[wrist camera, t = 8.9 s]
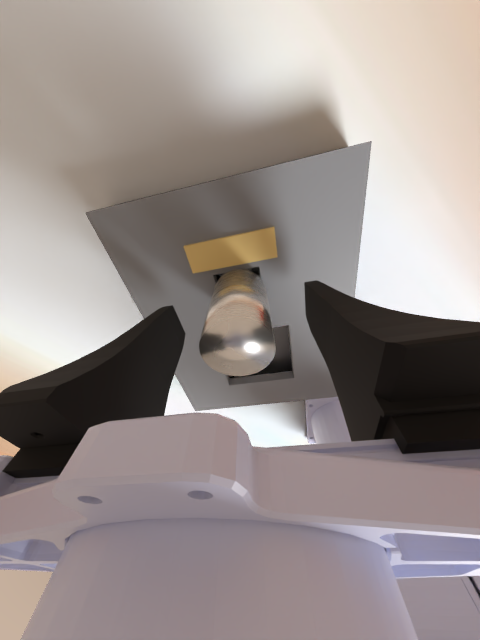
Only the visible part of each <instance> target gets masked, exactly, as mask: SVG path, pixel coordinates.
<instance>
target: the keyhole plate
mask: <svg viewBox="0 0 480 640" xmlns="http://www.w3.org/2000/svg"><path fill="white" fill-rule="evenodd" d="M371 142H372V141H370V142H366V143H362V144H358V145H354V146H350V147H346V148H342V149H338V150H334V151H330V152H326V153H322V154H318V155H314V156H310V157H306V158H302V159H298V160H294V161H290V162H286V163H282V164H278V165H274V166H270V167H266V168H262V169H258V170H254V171H250V172H246V173H242V174H238V175H234V176H230V177H226V178H222V179H218V180H214V181H210V182H206V183H202V184H198V185H194V186H190V187H186V188H182V189H178V190H174V191H170V192H166V193H162V194H158V195H154V196H150V197H146V198H142V199H138V200H134V201H130V202H126V203H122V204H118V205H114V206H110V207H106V208H102V209H98V210H94V211H90V212H86V215H87V217H88V219H89V221H90V222H91V224H92V226H93V228H94V229H95V231H96V233H97V235H98V237H99V238H100V240H101V242H102V244H103V246H104V247H105V249H106V251H107V253H108V255H109V256H110V258H111V260H112V262H113V264H114V265H115V267H116V269H117V271H118V273H119V274H120V276H121V278H122V280H123V282H124V283H125V285H126V287H127V289H128V291H129V292H130V294H131V296H132V298H133V300H134V301H135V303H136V305H137V307H138V309H139V310H140V312H141V314H142V316H143V318H144V319H145V318H146V317H148V316H149V315H151V314H152V313H153V312H155V311H156V310H158V309H160V308H162V307H165V306H171V305H173V307H174V309H175V311H176V313H177V316H178V318H179V320H180V322H181V325H182V327H183V329H184V331H185V340H184V346H183V350H182V353H181V356H180V359H179V362H178V365H177V368H176V371H175V375H176V377H177V379H178V381H179V382H180V384H181V386H182V388H183V390H184V391H185V393H186V395H187V397H188V399H189V400H190V402H191V404H192V406H193V408H194V409H195V411H200V410H210V409H220V408H230V407H240V406H250V405H260V404H270V403H280V402H290V401H300V400H310V399H320V398H330V397H338V396H337V393H336V390H335V387H334V384H333V381H332V378H331V375H330V372H329V369H328V367H327V365H326V362H325V360H324V358H323V356H322V354H321V352H320V350H319V348H318V346H317V344H316V341H315V339H314V337H313V335H312V333H311V331H310V328H309V325H308V322H307V318H306V312H305V286H304V282H309V281H315V280H317V281H320V282H322V283H324V284H326V285H328V286H330V287H332V288H334V289H336V290H338V291H340V292H342V293H344V294H346V295H349V296H351V297H353V298H354V297H355V288H356V279H357V270H358V261H359V252H360V242H361V233H362V224H363V215H364V206H365V197H366V187H367V178H368V169H369V160H370V151H371ZM253 267H259V269H260V275H261V279H262V280H263V282H264V284H265V287H266V291H267V297H268V303H269V309H270V315H271V321H272V327H273V328H274V327H281V326H287V325H288V331H289V341H290V351H291V361H292V371H287V372H279V373H270V374H262V375H253V376H245V377H237V378H230V377H229V375H226V374H222V373H220V372H217V371H216V370H214V369H212V368H211V367H210V366H208V365H207V364H206V363H205V362H204V360H203V359H202V357H201V355H200V351H199V342H200V338H201V334H202V331H203V327H204V324H205V320H206V316H207V313H208V309H209V306H210V302H211V298H212V295H213V291H214V287H215V284H216V282H217V281H218V280H217V276H216V274H222V273H226V272H228V271H231V270H235V269H248V268H253Z"/></svg>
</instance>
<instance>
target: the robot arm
mask: <svg viewBox="0 0 480 640" xmlns="http://www.w3.org/2000/svg"><path fill="white" fill-rule="evenodd" d="M304 286H305V312H306V318H307V322H308V325H309V328H310V331H311V333H312V335H313V337H314V339H315V341H316V344H317V346H318V348H319V350H320V352H321V354H322V356H323V358H324V360H325V362H326V365H327V367H328V369H329V372H330V375H331V378H332V381H333V384H334V387H335V390H336V393H337V396H338V397H330V398H320V399H310V400H305V405H306V423H307V440H308V443H310V444H311V445H297V446H283V447H270V448H264V447H253V446H252V445H251V442H250V440H249V437H248V434H247V433H246V432H245V431H244V430H243V429H242V427H241V426H240V425H239V424H238V423H237V422H236V421H235V420H232V419H229V418H227V417H224V416H222V415H219V414H213V413H187V414H177V415H167V416H164V413H165V407H166V402H167V398H168V393H169V389H170V386H171V382H172V379H173V376H174V373H175V371H176V368H177V365H178V362H179V359H180V356H181V353H182V350H183V346H184V340H185V331H184V329H183V327H182V325H181V322H180V320H179V318H178V316H177V313H176V311H175V309H174V307H173V305H171V306H165V307H162V308H160V309H158V310H156V311H155V312H153V313H152V314H151V315H149V316H148V317H146V318H145V319H144V320H142V321H141V322H140V323H138V324H137V325H135V326H134V327H133V328H131V329H130V330H128V331H127V332H125V333H124V334H122V335H121V336H119V337H118V338H116V339H115V340H113V341H112V342H110V343H108V344H107V345H105V346H103V347H101V348H100V349H98V350H96V351H94V352H92V353H90V354H88V355H86V356H84V357H82V358H80V359H78V360H76V361H74V362H72V363H69V364H67V365H65V366H63V367H60V368H58V369H55V370H53V371H51V372H48V373H46V374H43V375H40V376H38V377H35V378H32V379H29V380H27V381H24V382H21V383H18V384H15V385H12V386H10V387H8V388H6V389H5V390H3V391H2V392H1V393H0V436H1V437H2V438H4V439H5V440H7V441H9V442H10V443H12V444H14V445H15V446H17V447H18V448H21V449H20V450H19V451H18V453H17V454H16V455H15V456H14V457H11V456H6V455H1V456H0V569H3V570H26V571H47V572H53V573H52V576H51V578H50V580H49V582H48V584H47V586H46V588H45V590H44V592H43V594H42V596H41V598H40V600H39V602H38V605H37V607H36V609H35V611H34V613H33V615H32V617H31V619H30V621H29V623H28V625H27V627H26V629H25V631H24V633H23V635H22V638H21V640H480V322H471V321H460V320H449V319H440V318H433V317H426V316H420V315H414V314H409V313H404V312H399V311H395V310H390V309H387V308H383V307H379V306H376V305H373V304H370V303H367V302H364V301H361V300H358V299H356V298H353V297H351V296H349V295H346V294H344V293H342V292H340V291H338V290H336V289H334V288H332V287H330V286H328V285H326V284H324V283H322V282H320V281H317V280H315V281H309V282H304ZM314 443H316V444H314Z"/></svg>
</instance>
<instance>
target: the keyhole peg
mask: <svg viewBox="0 0 480 640" xmlns="http://www.w3.org/2000/svg"><path fill="white" fill-rule="evenodd" d="M216 276H217V280H218V281H217V282H216V284H215V287H214V291H213V295H212V298H211V302H210V306H209V309H208V313H207V316H206V320H205V324H204V327H203V331H202V334H201V338H200V342H199V351H200V355H201V357H202V359H203V360H204V362H205V363H206V364H207V365H208V366H210V367H211V368H212V369H214V370H216V371H217V372H220V373H222V374H226V375H231V376H246V375H251V374H254V373H257V372H259V371H261V370H263V369H264V368H266V367H267V366H268V365H269V364H270V363H271V361H272V360H273V358H274V356H275V351H276V345H275V339H274V333H273V327H272V321H271V315H270V309H269V303H268V297H267V291H266V287H265V284H264V282H263V280H262V279H261V275H260V269H259V267H253V268H248V269H235V270H231V271H228V272H226V273H222V274H216Z"/></svg>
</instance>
